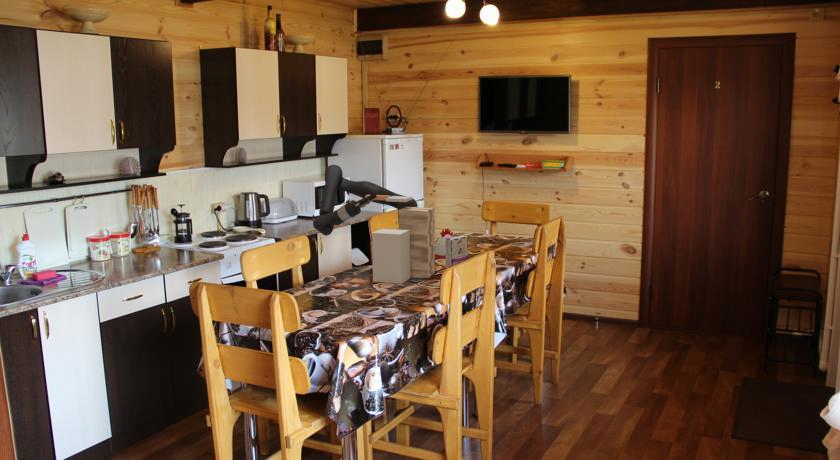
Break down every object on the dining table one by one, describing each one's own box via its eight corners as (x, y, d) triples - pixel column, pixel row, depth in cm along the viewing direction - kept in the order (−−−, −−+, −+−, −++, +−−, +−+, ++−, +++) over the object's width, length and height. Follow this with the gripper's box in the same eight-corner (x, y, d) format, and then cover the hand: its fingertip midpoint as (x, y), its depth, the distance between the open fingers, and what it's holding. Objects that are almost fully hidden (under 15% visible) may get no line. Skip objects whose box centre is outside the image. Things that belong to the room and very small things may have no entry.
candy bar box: (461, 267, 374) (461, 235, 371) (468, 269, 370) (468, 236, 367) (445, 270, 367) (444, 237, 364) (451, 272, 363) (451, 239, 360)
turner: (370, 197, 365) (369, 193, 365) (412, 199, 358) (412, 195, 357) (362, 200, 357) (362, 196, 356) (405, 202, 349) (405, 197, 349)
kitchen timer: (428, 255, 403) (428, 228, 401) (448, 252, 412) (448, 225, 409) (445, 259, 392) (444, 231, 390) (464, 256, 401) (464, 228, 398)
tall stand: (407, 271, 366) (406, 206, 360) (434, 273, 361) (434, 207, 356) (399, 276, 356) (398, 210, 350) (427, 278, 351) (426, 211, 345)
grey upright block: (382, 276, 357) (381, 228, 353) (410, 277, 352) (409, 230, 348) (373, 281, 346) (371, 232, 342) (401, 283, 341) (400, 234, 337)
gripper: (339, 206, 359) (367, 189, 352) (351, 202, 371) (378, 185, 365) (346, 219, 358) (375, 203, 352) (358, 215, 371) (386, 199, 365)
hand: (376, 194), depth 359 cm, fingers closed on turner, 2 cm apart
